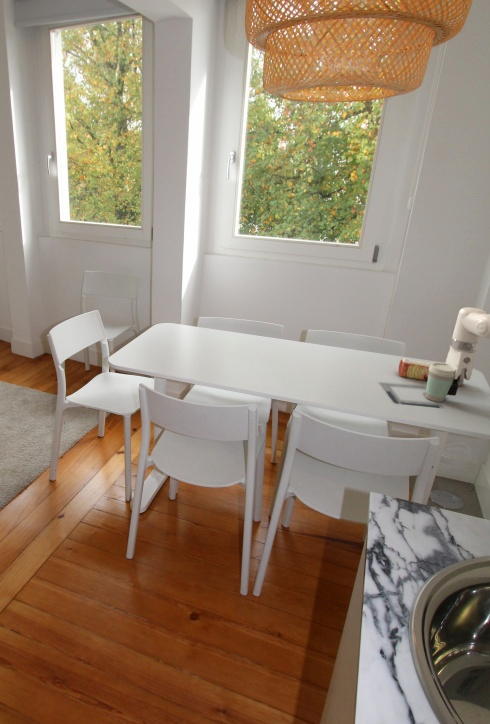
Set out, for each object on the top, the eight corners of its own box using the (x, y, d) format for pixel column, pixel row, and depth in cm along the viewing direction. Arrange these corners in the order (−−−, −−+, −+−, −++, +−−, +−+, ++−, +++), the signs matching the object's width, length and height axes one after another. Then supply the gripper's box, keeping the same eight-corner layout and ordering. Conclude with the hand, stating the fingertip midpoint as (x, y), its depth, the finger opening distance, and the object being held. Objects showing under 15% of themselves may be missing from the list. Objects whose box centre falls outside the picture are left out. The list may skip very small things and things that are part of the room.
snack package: (458, 381, 179) (463, 365, 176) (461, 389, 173) (466, 372, 170) (396, 371, 186) (401, 355, 183) (397, 377, 181) (402, 362, 178)
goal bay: (439, 407, 158) (439, 407, 157) (394, 404, 160) (394, 403, 160) (421, 388, 173) (422, 387, 173) (381, 385, 175) (381, 384, 175)
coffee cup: (447, 395, 167) (457, 364, 162) (449, 405, 160) (459, 374, 155) (420, 390, 170) (429, 359, 165) (421, 400, 163) (430, 368, 158)
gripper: (486, 353, 150) (471, 404, 156) (466, 338, 163) (452, 386, 170) (461, 351, 151) (446, 402, 158) (442, 337, 164) (430, 385, 171)
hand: (449, 394), depth 164 cm, fingers closed
